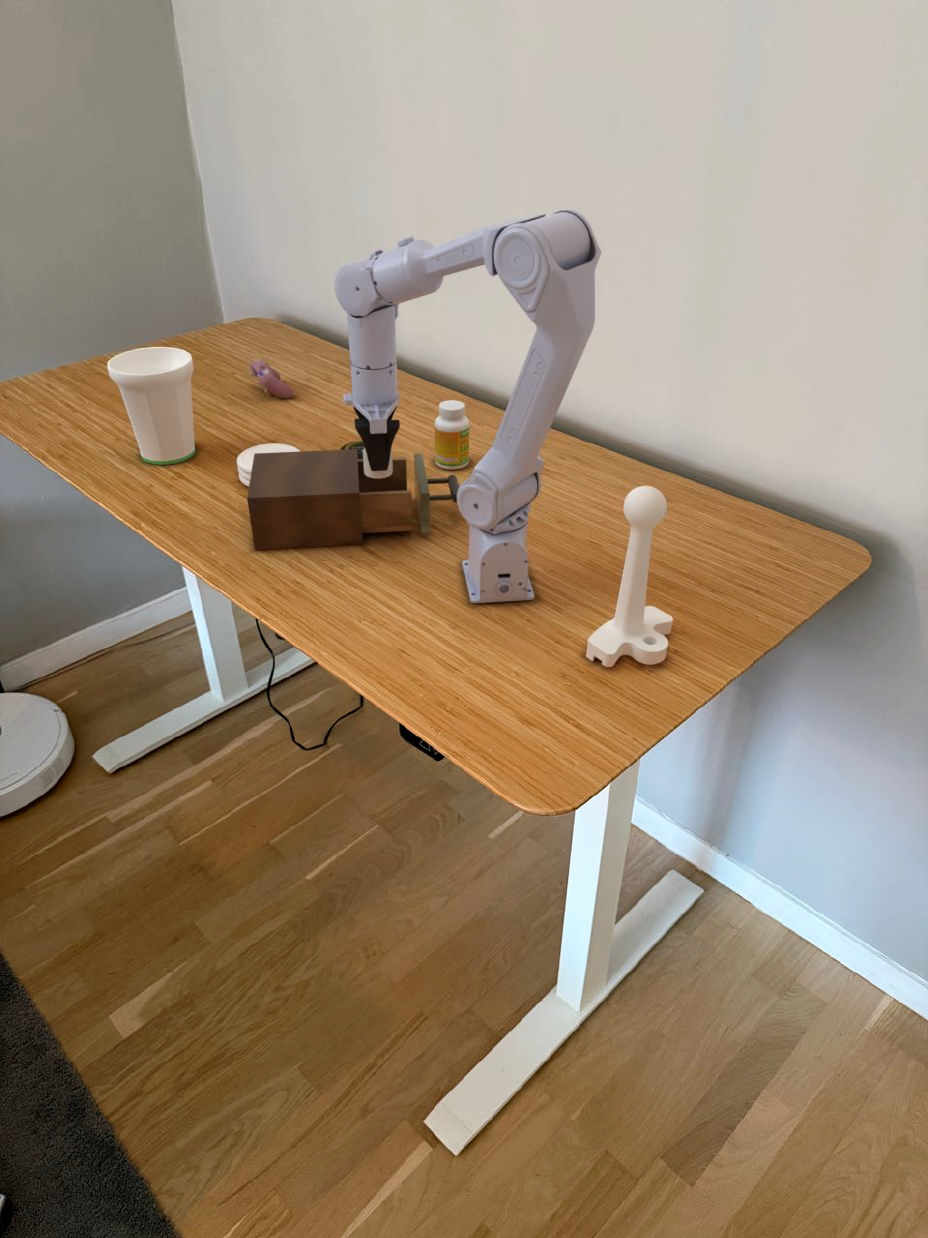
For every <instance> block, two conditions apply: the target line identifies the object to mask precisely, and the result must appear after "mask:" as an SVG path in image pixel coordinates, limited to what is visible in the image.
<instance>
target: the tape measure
mask: <svg viewBox="0 0 928 1238" xmlns="http://www.w3.org/2000/svg"><path fill="white" fill-rule="evenodd" d="M364 448H365V446H364V443H363V441H362V440H357V441H350V442H347V443H345V444H344V445H342V446H341V447H340V448H339V450H347V449H357V459H363V449H364Z"/></svg>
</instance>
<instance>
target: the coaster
mask: <svg viewBox="0 0 928 1238" xmlns="http://www.w3.org/2000/svg"><path fill="white" fill-rule="evenodd" d="M300 451H301V450H300V449H299V448H297V447H295V446H294V445H291V444H286V443H274V442H273V443H261V444H258V445H254V446H251V447H248V448H246V449H244V450H243V451H242V452H241V453H240V454H238V456H237V458H236V465H237V472H238V478H239V481H240V482H241V483H242V484H243V486H244V485H245V486H246V487H247V488H249V484H250V478H251V471H252V465H253V459H254V454H255V453H277V452H300Z"/></svg>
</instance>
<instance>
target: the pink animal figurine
mask: <svg viewBox="0 0 928 1238" xmlns="http://www.w3.org/2000/svg"><path fill="white" fill-rule="evenodd" d="M248 366H249V369H250V371H249V375H250V376H251V377H252V378H254V377H256V378H257V379H258V381H259V384H260V385H261V386H262V388H264V390H263V391H264V392H265V393H266V394H269V396H270V397H271V396H272V395H274V396H277V397H279V398H282V399H291V398H292V397H293V394H294V392H293V389H292V388H291V386H289V385H288V384H286V383H284V382H283V381H281V374H280V373H279V371H277V370H276V369H275V368H273V367H271V365H270V364H269V363H268V362H266V361H264V360H260V358H258V359H257V360H256V359H255V360H253V361H252V362H251V363H249V364H248Z"/></svg>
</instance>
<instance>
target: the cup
mask: <svg viewBox="0 0 928 1238" xmlns="http://www.w3.org/2000/svg"><path fill="white" fill-rule="evenodd" d="M106 366H107V372H108V376H109V378H110V380H112V381H113V382H114V383H115V384H116V385H117V386H118V389H119V392H120V395H121V398H122V401H123V404H124V406H125V407H124V408H125V410H126V412H127V416H128V418H129V421H130V424H131V427H132V430H133V433H134V436H135V439H136V442H137V445H138V447H139V453H140V456H141V459H142V460H143V461H144V462H145V463H148V464H152V465H158V466H166V465H174V464H179V463H182V462H185V461H187V460H189V459H191V458H192V457H193V456H194V455H195V453H196V445H195V427H194V411H193V395H192V394H193V393H192V376H193V373H194V371H195V369H194V362H193V357H192V354H190V353H189V352H187V350H184V349H182V348H181V349H180V348H176V347H170V346H169V347H168V346H152V347H141V348H135V349H131V350H126V351H124V352H121V353H119V354H116V355H114V356H113V357H112V358H110V359H109V360H108V361H107V365H106Z"/></svg>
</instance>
